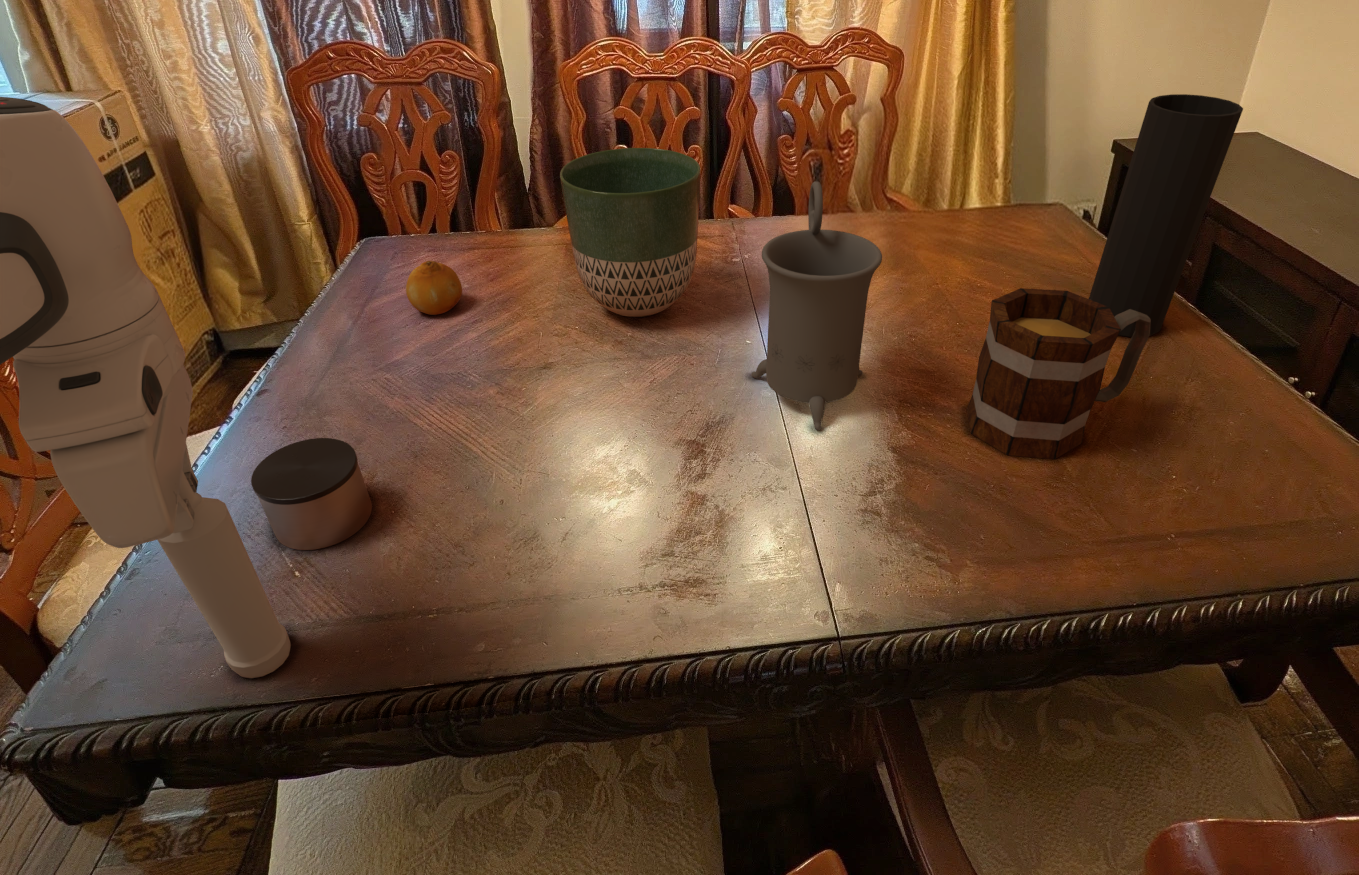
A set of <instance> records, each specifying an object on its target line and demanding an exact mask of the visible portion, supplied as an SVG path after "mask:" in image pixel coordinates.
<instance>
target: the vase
mask: <svg viewBox="0 0 1359 875" xmlns="http://www.w3.org/2000/svg"><path fill="white" fill-rule="evenodd" d="M1243 111H1244V107H1242V106H1241V104H1239V103H1236V102H1234V101H1232V100H1229V99H1224V98H1220V97H1215V96H1208V95H1201V94H1200V95H1199V94H1185V93H1183V94H1180V93H1179V94H1177V93H1176V94H1175V93H1174V94H1173V93H1172V94H1163V95H1157V96H1155V97H1152V98H1150V100H1149V101H1148V104H1147V107H1146V111H1145V114H1144V117H1143V120H1142V123H1141V126H1140V130H1139V132H1138V137H1137V139H1136V143H1135V147H1134V149H1133V152H1132V155H1131V160H1130V162H1129V165H1128V169H1127V172H1126V175H1125V179H1124V182H1123V185H1122V189H1121V192H1120V195H1119V199H1118V202H1117V205H1116V208H1115V212H1114V215H1113V218H1112V221H1111V224H1110V227H1109V231H1108V234H1107V238H1106V241H1105V244H1104V248H1103V251H1102V254H1101V257H1100V261H1099V264H1098V266H1097V270H1096V273H1095V277H1094V281H1093V283H1092V287H1091V290H1090V293H1089V296H1088V299H1090V300H1092V301H1095V302H1097V303H1100V304H1102V305H1105V306H1107V307H1109V308H1110V310H1111V312H1112V314H1113V315H1114V317H1115V316H1116V315H1118V314H1120V313H1122V312H1124V311H1127V310H1129V309H1132V310H1134V311H1137V312H1140V313H1143V314H1145V315H1147V316H1148V317H1149V318H1150V319H1151V322H1150V336H1154V335H1155V334H1157V333H1159V332H1161V329H1162V327H1163V325H1164V322H1165V319H1166V317H1167V313H1168V311H1169V308H1170V306H1171V304H1172V300H1173V298H1174V295H1175V292H1176V290H1177V288H1178V284H1179V282H1180V279H1181V277H1182V274H1183V272H1184V271H1183V270H1184V268H1185V265H1186V262H1187V260H1188V257H1189V256H1190V252H1191V250H1192V247H1193V244H1194V242H1195V240H1196V236H1197V234H1198V231H1199V228H1200V226H1201V223H1202V221H1203V217H1204V214H1205V212H1206V210H1207V207H1208V204H1209V203H1210V202H1209V201H1210V199H1211V196H1212V193H1213V191H1214V188H1215V186H1216V183H1217V181H1218V178H1219V175H1220V172H1221V170H1222V168H1223V164H1224V161H1225V159H1226V156H1227V154H1228V152H1229V148H1230V145H1231V142H1232V140H1233V138H1234V135H1235V132H1236V129H1237V127H1238V124H1239V122H1240V119H1241V117H1242V113H1243ZM1135 326H1136V321H1135V322H1133V323H1131V324H1129V325H1127V326H1126V327H1125V328H1124V329H1123V330H1121V331H1120V333H1119V335H1118V336H1120V337H1125V338H1132V336H1133V334H1134V332H1135ZM1150 336H1149V337H1150Z"/></svg>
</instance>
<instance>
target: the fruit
mask: <svg viewBox="0 0 1359 875" xmlns="http://www.w3.org/2000/svg"><path fill="white" fill-rule="evenodd" d="M405 286H406V287H405V293H406V297H407V300H408V302H409V304H411V306H412V307H413V308H414V309H416V311H419V312H421V313H423V314H426V315H429V316H430V315H435V316H437V315H442V314H444V313H447V312H448V311H450V310H451V309H453V308H454V307H455V306H456V305H457V304H458V303H459V301H460V300H461V298H462V295H463V285H462V283H461V280H460V278H459V276H458V274H457V272H456V271H455V270H454V269H452V267H450V266H448V265H447V264H445V263H442V262H438V261H435V260H426V261H423V262H421V264H420V265H418V266H417V267H415V268H413V270H412V271H411V272H410V273H409V275H408V278H407V280H406V285H405Z"/></svg>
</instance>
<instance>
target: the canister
mask: <svg viewBox="0 0 1359 875" xmlns="http://www.w3.org/2000/svg"><path fill="white" fill-rule="evenodd" d="M358 460H359V459H358V456H357V453H356V451H355V449H354V448H353V446H352V445H351V444H349V443H348V442H346V441H344V440H341V439H337V438H331V437H314V438H308V439H303V440H300V441H296V442H292V443H290V444H288V445H285V446H282V447H281V448H279V449H277V450H275V451H273V452H271V453H270V454H269V455H267V456H266V457H264V458H263V459H262V460H261V461H260V462H259V463H258V464H257V466H256V467H255V468H254V470H253V472H252V475H251V479H250V484H251V487H252V490H253V492H254V494H255V495H256V496H257V498H258V500H259V502H260V506H261V508H262V509H263V512H264V514H265V516H266V519H267V520H268V523H269V525H270V527H271V530H272V531H273V534H274V536H275V539H276V540H277V541H278V542H279V543H280V544H281V545H283V546H284V547H287V548H289V549H292V550H298V551H314V550H321V549H324V548H328V547H331V546H334V545H337V544H340V543H341V542H343V541H346V540H348V539H350V538H351V537H352V536H353V535H355V534H356V533H358V532H359V531H360V530H361V529H362V528H363V527H364V526H365V525H366V524H367V522H368V521H369V519H370V516H371V514H372V511H373V504H372V501H371V498H370V495H369V492H368V490H367V486H366V483H365V479H364V477H363V473H362V471H361V468H360V465H359V461H358Z"/></svg>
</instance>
